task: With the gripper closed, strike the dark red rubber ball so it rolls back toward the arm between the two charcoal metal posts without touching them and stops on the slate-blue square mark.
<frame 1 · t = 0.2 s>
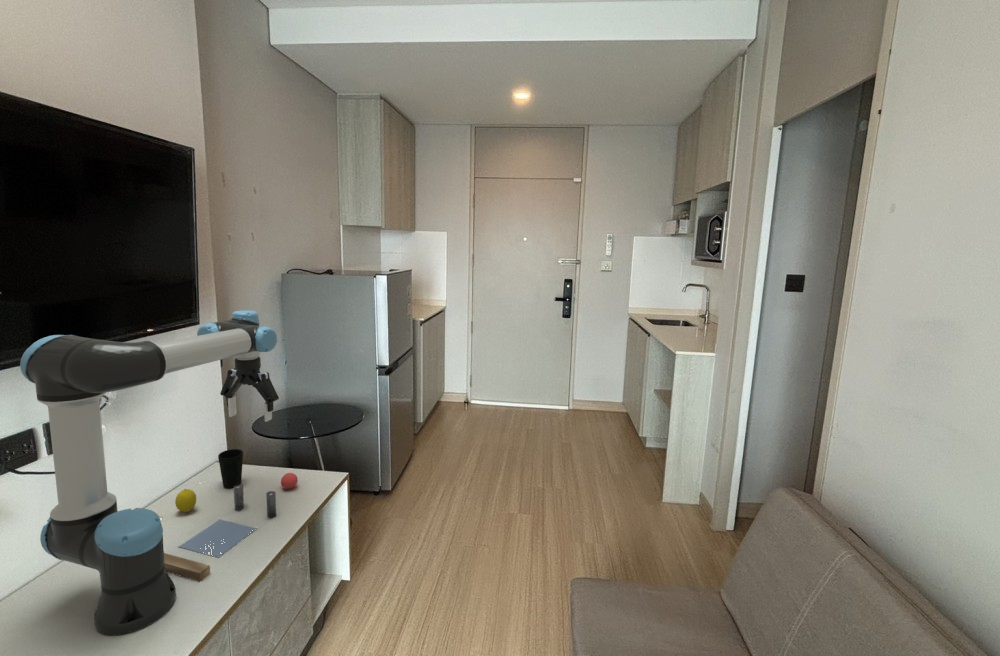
hand: (250, 417, 154), 28 cm above the tv console, tool pointing down, fingers open, 13 cm apart
post left: (239, 508, 149), on the tv console
post right: (271, 515, 146), on the tv console
lemon: (186, 512, 146), on the tv console
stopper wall: (175, 569, 121), on the tv console
cup: (232, 485, 163), on the tv console
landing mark: (219, 537, 134), on the tv console
ball: (289, 480, 162), on the tv console
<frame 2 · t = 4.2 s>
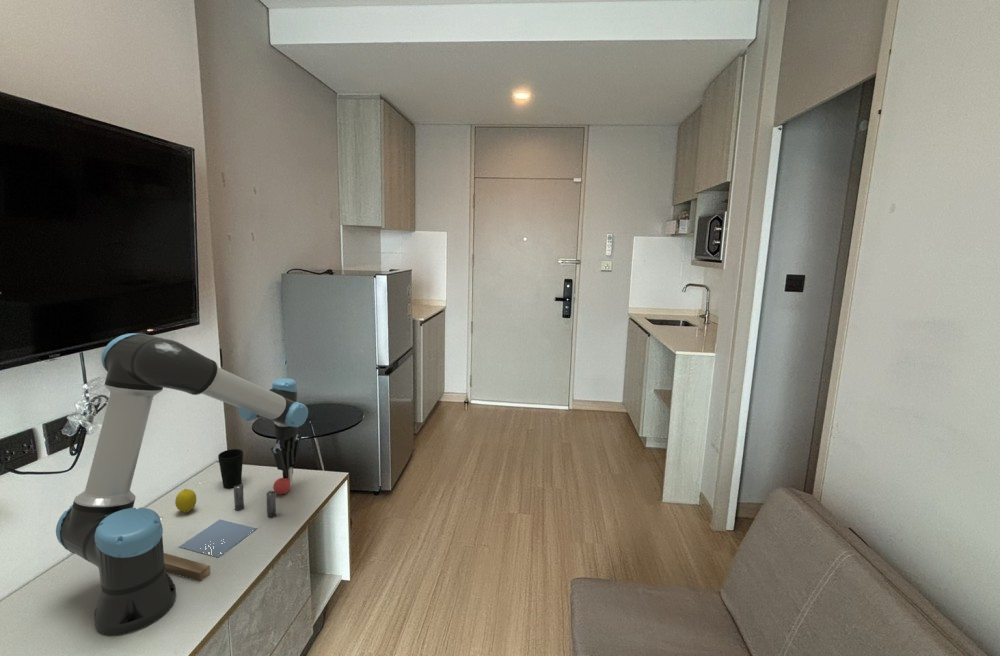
hand: (288, 484, 162), 2 cm above the tv console, tool pointing down, fingers closed
ball: (281, 486, 159), on the tv console, touching gripper
everything else where it was.
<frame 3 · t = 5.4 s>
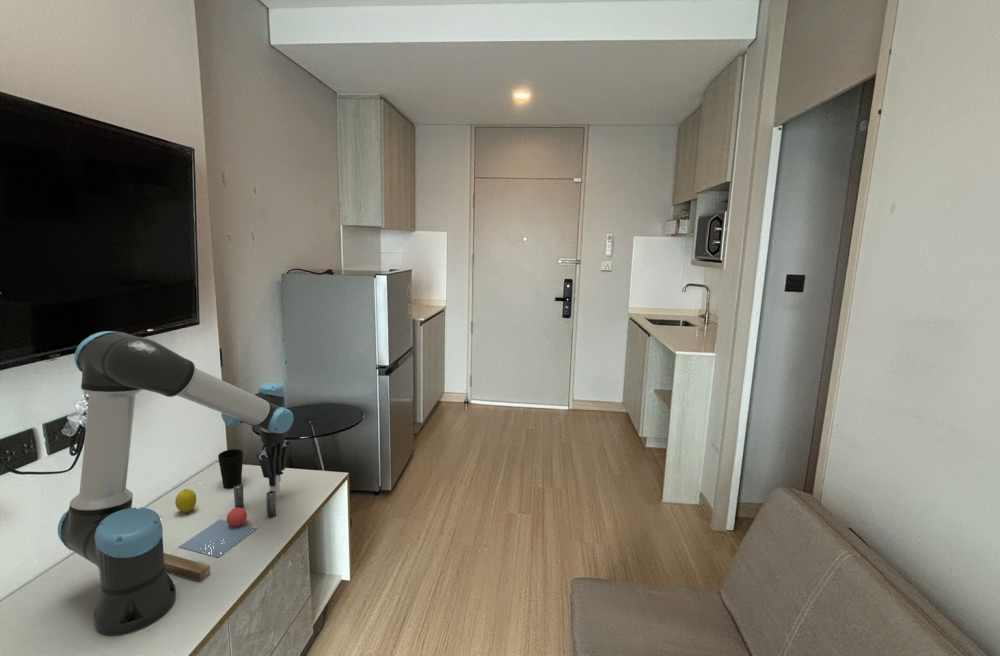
hand: (275, 492, 156), 2 cm above the tv console, tool pointing down, fingers closed
ball: (236, 517, 140), on the tv console
everything else where it was.
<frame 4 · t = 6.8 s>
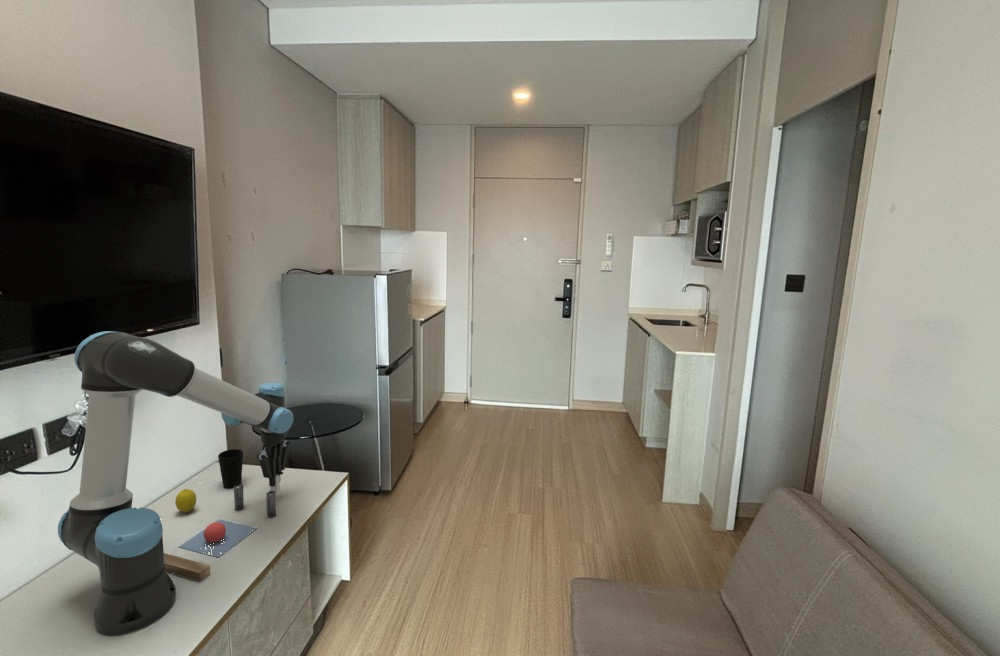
hand: (275, 492, 156), 2 cm above the tv console, tool pointing down, fingers closed
ball: (214, 532, 132), on the tv console
everything else where it was.
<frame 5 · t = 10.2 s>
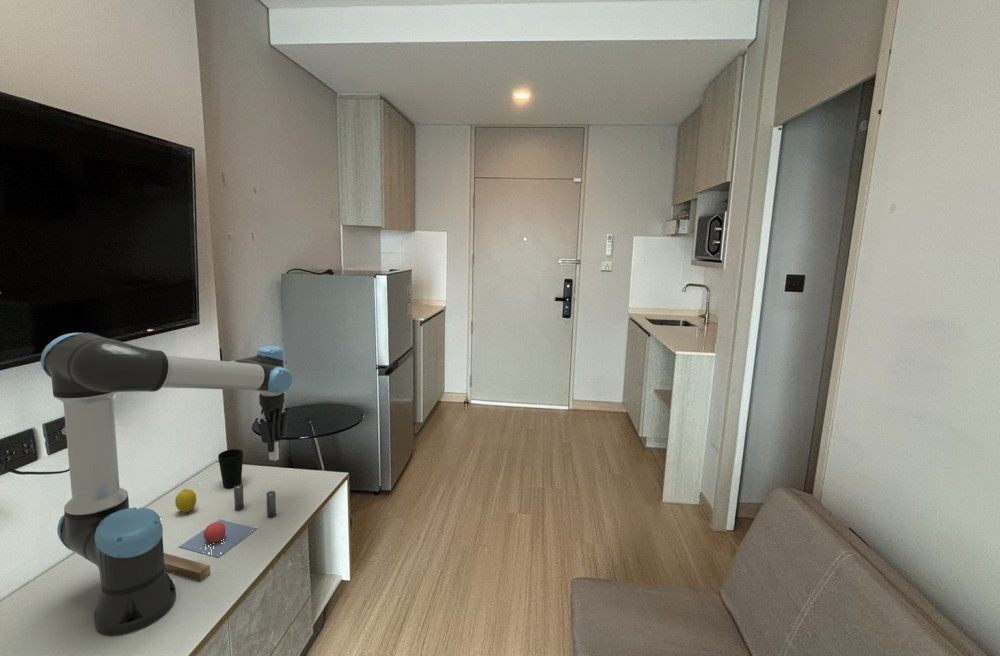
hand: (274, 459, 154), 14 cm above the tv console, tool pointing down, fingers closed
nothing on the tv console moved.
at the end: ball 1.4 cm from the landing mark (horizontally); ball never touched post left; ball never touched post right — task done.
